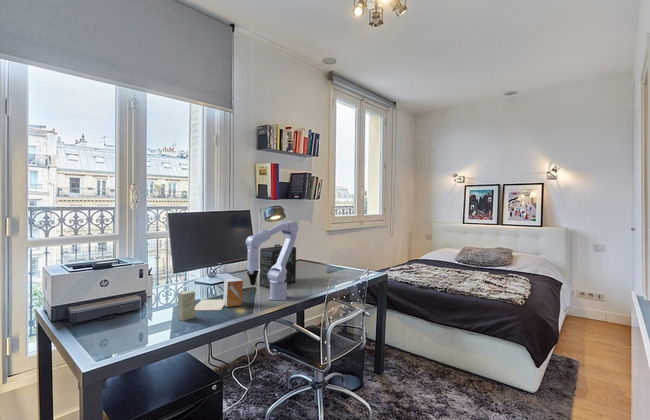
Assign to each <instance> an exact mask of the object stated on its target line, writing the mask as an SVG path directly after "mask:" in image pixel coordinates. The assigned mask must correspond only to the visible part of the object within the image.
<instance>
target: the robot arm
mask: <svg viewBox="0 0 650 420" xmlns="http://www.w3.org/2000/svg"><path fill="white" fill-rule="evenodd" d="M299 228H300V227H299V225H298V223H297V221H294V220H293V221H291V220H282V221H279V222H277V224H276V225H275V224H274V226H272V227H270V228H269V229H263V228H262V229H261V230H260V231H259V232H257V233H254V234H253V235H249V236H247V238H246V239H245V241H244V242H245V246H246V248H247V249H246V250H247V266H245V268H244V269H245V270H247V272H246V274H247V275H248V278H249V283H250V286H256V283H257V277H258V274H259V273H260V247H261V245H262V244H263V243H264V242H265V243H266V241H268V240H270V239H271V237H272V236H273V235H275V234H278V233H280V232H281V233H282V234H283V235H284V237H285V239H284V243H283V245H282V246H283V247H282V250H281V252H280V255H279V257H278V260H277V262H276V264H275V265H273V266H272V267H271V269H270V270H269V272H268V274H267V277H268V279H269V282H270V288H269V296H268V300H269V301H286V300H287V297H288V292H287V291H288V290H287V289H288V285H287V282H284V281H285V279H286V273H287V270H286V268H285V266H286V263H287V261H288V258H289V256H290V253H291V250H292V248H293V247H294V245H295V242H296V240H297V233H298V231H299Z"/></svg>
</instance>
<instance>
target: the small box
mask: <svg viewBox="0 0 650 420" xmlns="http://www.w3.org/2000/svg"><path fill="white" fill-rule="evenodd" d="M243 283H244V281H243V279H241V278H240V277H236V278H234V277H233V278H225V279H223V298H222V299H223V304H224V306H225V307H226V308H229V307H235V306H236V307H237V306H242V304H243V303H242V302H243V286H244V285H243Z"/></svg>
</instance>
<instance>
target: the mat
mask: <svg viewBox="0 0 650 420" xmlns="http://www.w3.org/2000/svg"><path fill="white" fill-rule="evenodd" d="M224 306H225V305H224V304H223V298H222V299H220V298H219V299H216V298H215V299H201V300H200V301H199V302H198V303H197V304H195V312H197V311H198V312H199V311H200V312H201V311H203V312H204V311H207V312H208V311H210V312H211V311H221V310H223V308H224Z"/></svg>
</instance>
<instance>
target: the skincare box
mask: <svg viewBox="0 0 650 420" xmlns="http://www.w3.org/2000/svg"><path fill="white" fill-rule="evenodd" d="M195 306H196V292H195V291H193V290H185V291H181V292H177V320H179V321H182V322H184V321H188V320H190V319H191V320H192V319H194V318H196V314H195V313H196V311H195Z"/></svg>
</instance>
